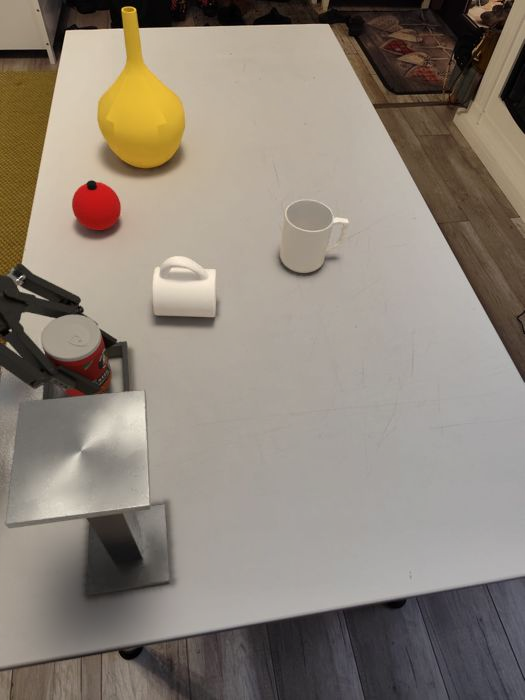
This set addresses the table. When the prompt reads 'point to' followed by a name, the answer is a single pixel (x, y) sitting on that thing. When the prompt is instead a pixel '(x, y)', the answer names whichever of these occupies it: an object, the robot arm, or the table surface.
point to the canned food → (77, 349)
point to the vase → (140, 108)
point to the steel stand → (92, 483)
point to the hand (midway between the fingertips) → (103, 367)
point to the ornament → (96, 205)
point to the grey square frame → (112, 351)
